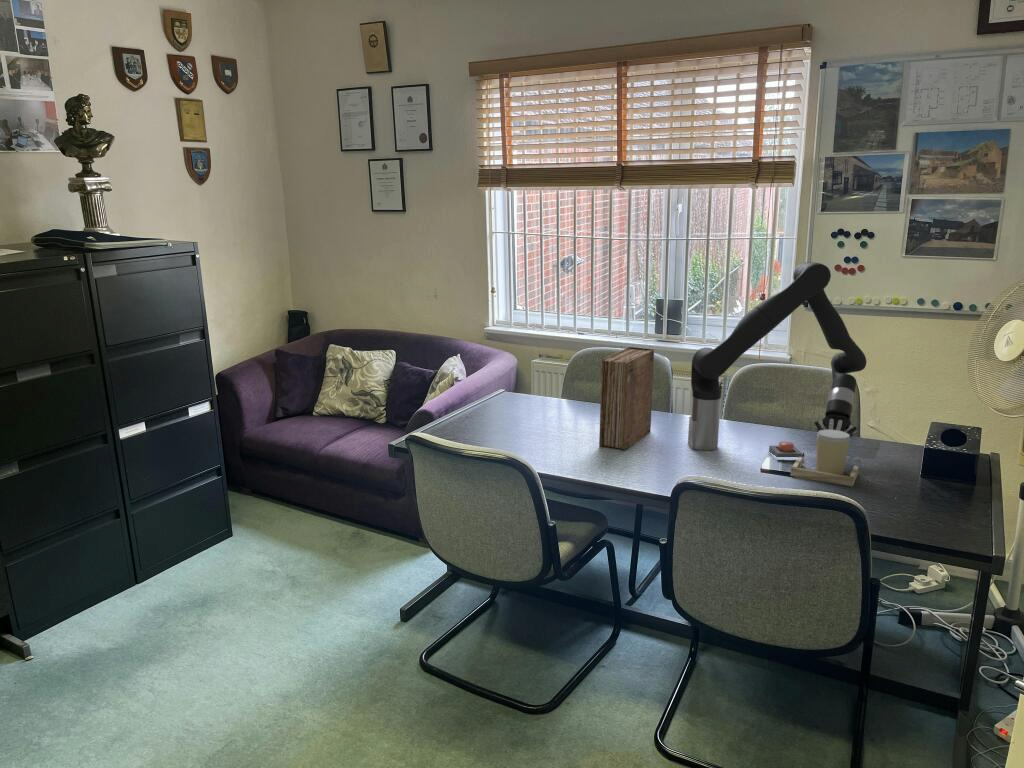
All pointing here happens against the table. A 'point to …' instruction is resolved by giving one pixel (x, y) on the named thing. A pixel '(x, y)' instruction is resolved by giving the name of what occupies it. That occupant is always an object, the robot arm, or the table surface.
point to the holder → (823, 474)
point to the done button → (786, 446)
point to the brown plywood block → (626, 397)
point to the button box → (777, 453)
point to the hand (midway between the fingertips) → (830, 451)
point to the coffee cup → (832, 451)
